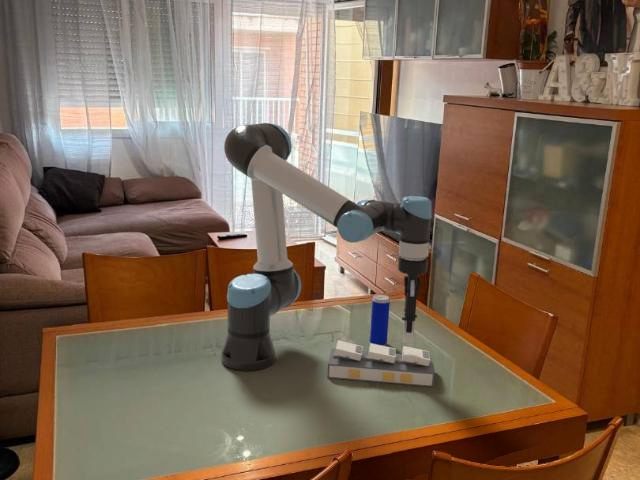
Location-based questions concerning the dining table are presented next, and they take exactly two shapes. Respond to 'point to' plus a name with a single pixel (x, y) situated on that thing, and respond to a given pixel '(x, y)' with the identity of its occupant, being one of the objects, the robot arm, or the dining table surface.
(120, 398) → the dining table surface
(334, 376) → the switch console
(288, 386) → the dining table surface
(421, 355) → the rocker
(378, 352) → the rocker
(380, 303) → the beverage can
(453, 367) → the dining table surface
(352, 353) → the plate
